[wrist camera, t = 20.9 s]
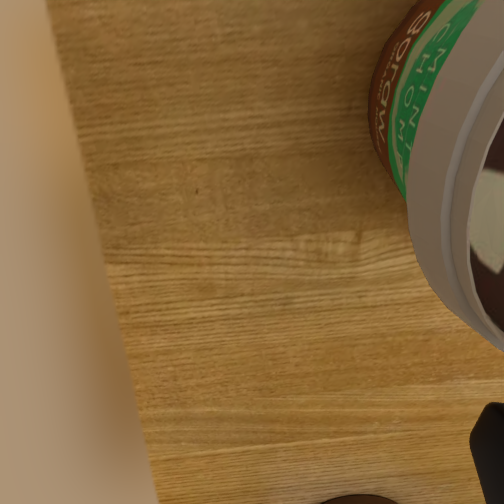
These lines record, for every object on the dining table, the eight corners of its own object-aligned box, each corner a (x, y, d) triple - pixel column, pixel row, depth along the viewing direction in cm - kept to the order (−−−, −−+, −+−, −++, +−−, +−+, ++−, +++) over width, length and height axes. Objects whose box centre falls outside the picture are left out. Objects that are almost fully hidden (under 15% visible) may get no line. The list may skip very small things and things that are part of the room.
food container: (357, -102, 16) (532, -222, 7) (540, -98, 16) (932, -206, 7) (324, 238, 21) (396, 410, 13) (459, 236, 22) (620, 402, 13)
